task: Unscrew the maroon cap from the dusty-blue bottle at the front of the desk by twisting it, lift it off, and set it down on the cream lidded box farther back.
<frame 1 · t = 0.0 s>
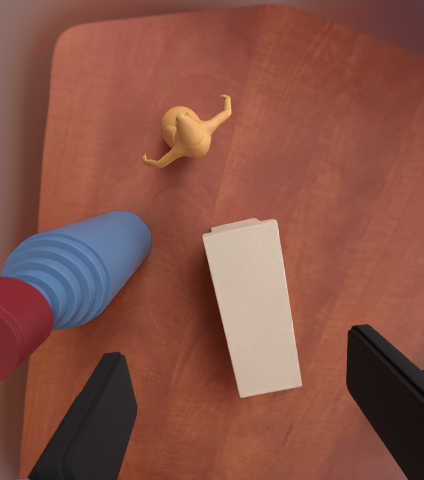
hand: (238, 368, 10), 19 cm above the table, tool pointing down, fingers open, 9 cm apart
bottle: (122, 239, 28), on the table
figurine: (189, 142, 25), on the table
cream lidded box: (246, 290, 30), on the table
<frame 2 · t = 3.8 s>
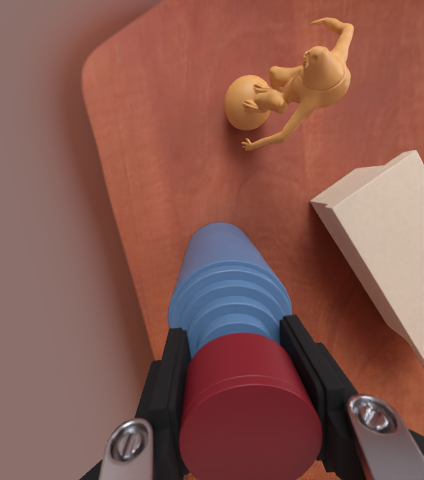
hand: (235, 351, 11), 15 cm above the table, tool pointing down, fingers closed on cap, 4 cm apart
bottle: (219, 254, 25), on the table
cap: (249, 433, 7), point 18 cm above the table, screwed on, not yet turned, touching gripper
figurine: (253, 118, 22), on the table
cream lidded box: (373, 253, 25), on the table
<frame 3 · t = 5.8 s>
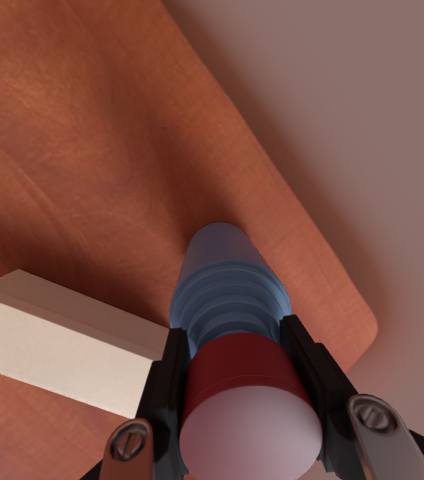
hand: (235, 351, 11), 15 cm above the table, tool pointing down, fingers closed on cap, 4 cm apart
bottle: (220, 254, 25), on the table
cap: (249, 433, 7), point 18 cm above the table, turned 152° so far, risen 0.2 cm, still on its thread, touching gripper
cream lidded box: (91, 320, 26), on the table
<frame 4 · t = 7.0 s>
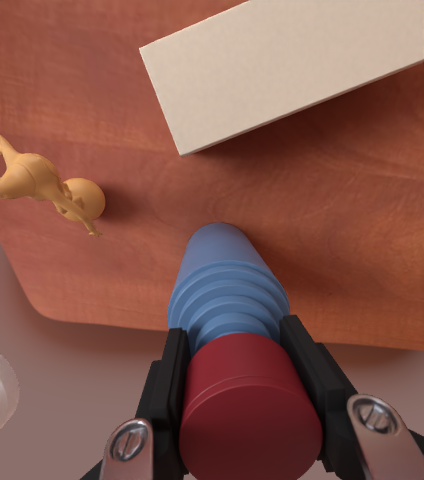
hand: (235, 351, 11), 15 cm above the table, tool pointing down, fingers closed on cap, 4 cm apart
bottle: (218, 254, 25), on the table
cap: (249, 433, 7), point 18 cm above the table, off its thread, touching gripper
figurine: (99, 191, 23), on the table
cream lidded box: (270, 87, 21), on the table
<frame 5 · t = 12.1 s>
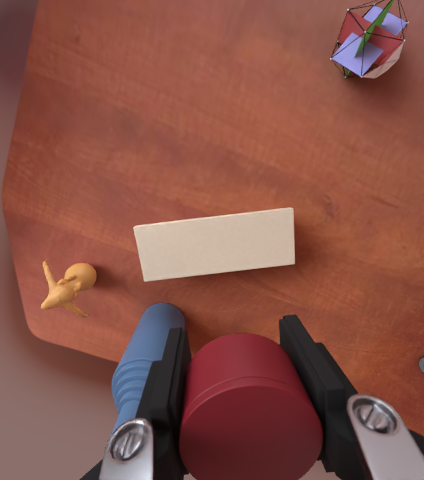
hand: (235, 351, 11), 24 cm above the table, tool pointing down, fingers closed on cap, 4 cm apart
bottle: (163, 322, 37), on the table
geometric puzzle: (349, 57, 29), on the table
cap: (249, 434, 7), point 28 cm above the table, off its thread, touching gripper
figurine: (94, 268, 35), on the table
cream lidded box: (214, 235, 34), on the table
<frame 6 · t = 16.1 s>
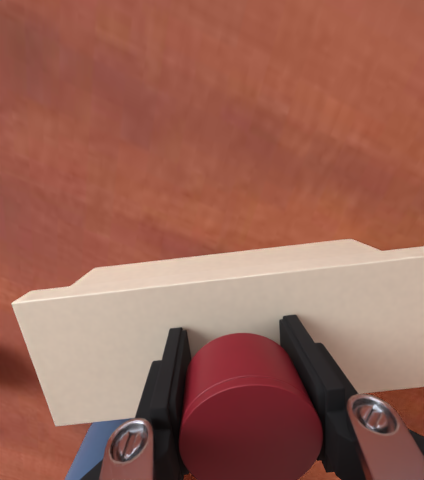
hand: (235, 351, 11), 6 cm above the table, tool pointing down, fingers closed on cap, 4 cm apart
bottle: (128, 441, 20), on the table
cap: (249, 433, 7), point 10 cm above the table, off its thread, touching gripper
cream lidded box: (225, 288, 17), on the table
when the fingers open (7 cm above the table, at t = 20.7 s): cap drops 2 cm, resting on cream lidded box.
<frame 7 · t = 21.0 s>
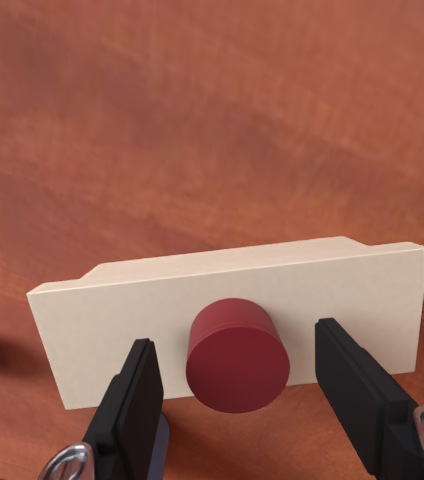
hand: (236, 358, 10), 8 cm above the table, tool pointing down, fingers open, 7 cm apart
bottle: (130, 430, 21), on the table
cap: (237, 366, 10), point 8 cm above the table, off its thread, touching cream lidded box
cream lidded box: (224, 283, 18), on the table
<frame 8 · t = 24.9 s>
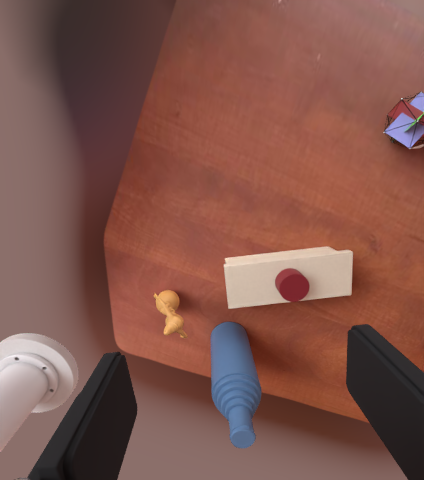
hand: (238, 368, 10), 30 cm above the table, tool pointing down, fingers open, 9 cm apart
bottle: (228, 337, 44), on the table
geometric puzzle: (395, 126, 36), on the table
cap: (293, 287, 33), point 8 cm above the table, off its thread, touching cream lidded box
figurine: (174, 293, 42), on the table
cream lidded box: (277, 266, 41), on the table
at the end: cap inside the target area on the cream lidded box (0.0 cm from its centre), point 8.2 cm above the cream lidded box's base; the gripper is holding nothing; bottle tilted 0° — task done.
